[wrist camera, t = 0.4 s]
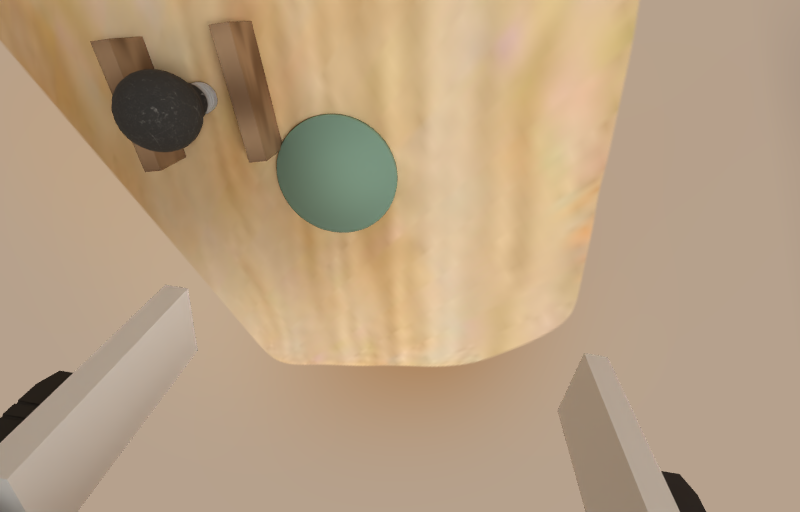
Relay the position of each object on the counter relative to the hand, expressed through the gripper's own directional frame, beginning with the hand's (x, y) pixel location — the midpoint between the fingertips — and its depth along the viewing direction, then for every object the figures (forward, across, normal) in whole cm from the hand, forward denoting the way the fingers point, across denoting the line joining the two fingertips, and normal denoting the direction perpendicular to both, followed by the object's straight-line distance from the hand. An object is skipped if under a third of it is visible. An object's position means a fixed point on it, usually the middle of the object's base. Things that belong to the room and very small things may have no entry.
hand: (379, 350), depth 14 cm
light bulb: (+26, -19, +1) cm, 32 cm away
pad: (+26, -7, -4) cm, 27 cm away
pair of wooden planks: (+26, -19, +1) cm, 32 cm away
